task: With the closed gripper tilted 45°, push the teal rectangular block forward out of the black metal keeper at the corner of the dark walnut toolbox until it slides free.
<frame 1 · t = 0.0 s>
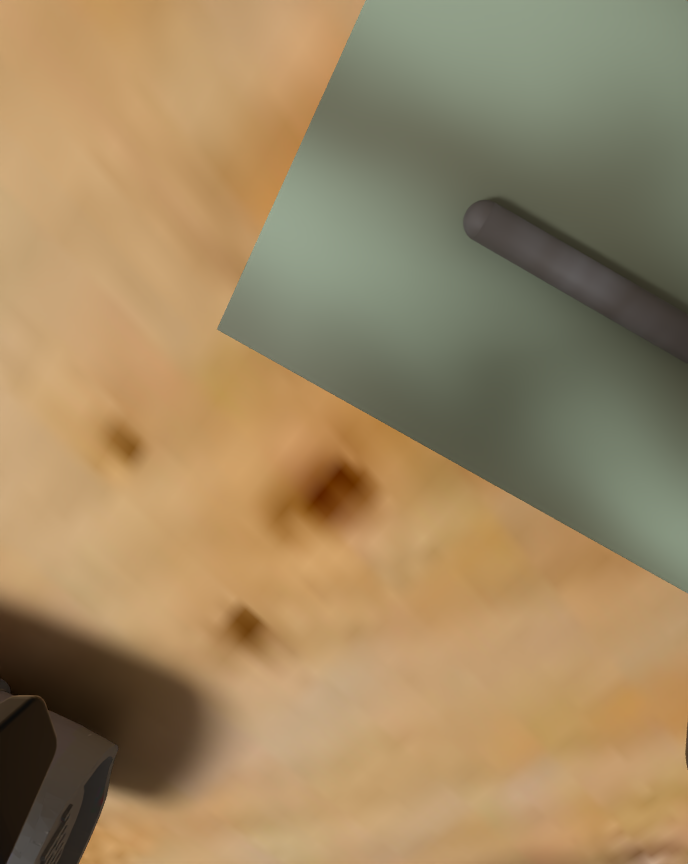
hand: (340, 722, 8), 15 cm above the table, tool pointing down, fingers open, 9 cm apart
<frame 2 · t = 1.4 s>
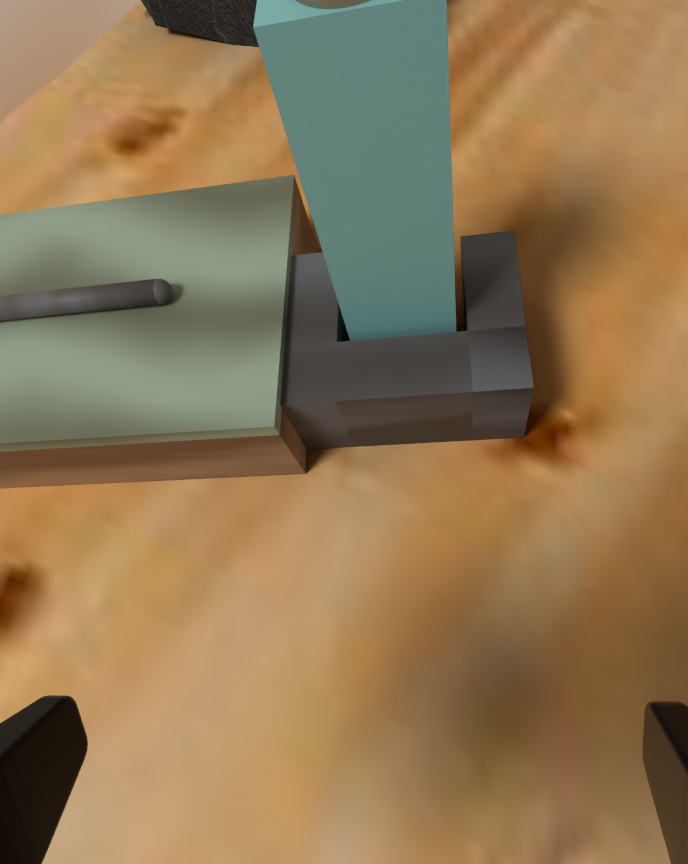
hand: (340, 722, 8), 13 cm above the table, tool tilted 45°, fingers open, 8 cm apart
toolbox: (409, 351, 26), on the table
teal rectangular block: (387, 214, 19), point 8 cm above the table, slide at 0.0 cm
hammer: (273, 26, 39), on the table
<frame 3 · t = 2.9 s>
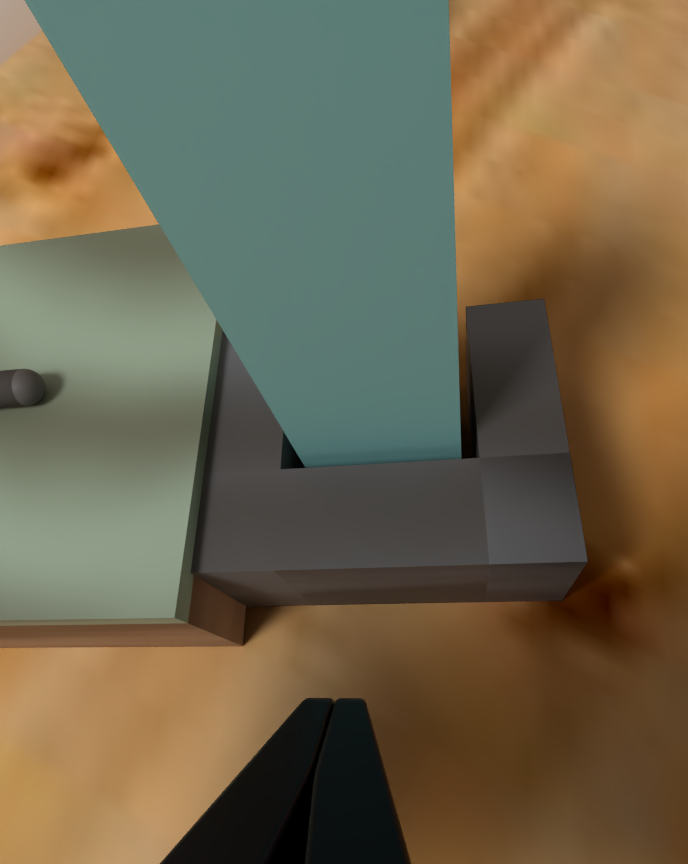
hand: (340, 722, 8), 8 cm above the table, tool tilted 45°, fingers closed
toolbox: (393, 459, 19), on the table
teal rectangular block: (348, 289, 12), point 8 cm above the table, slide at 0.0 cm
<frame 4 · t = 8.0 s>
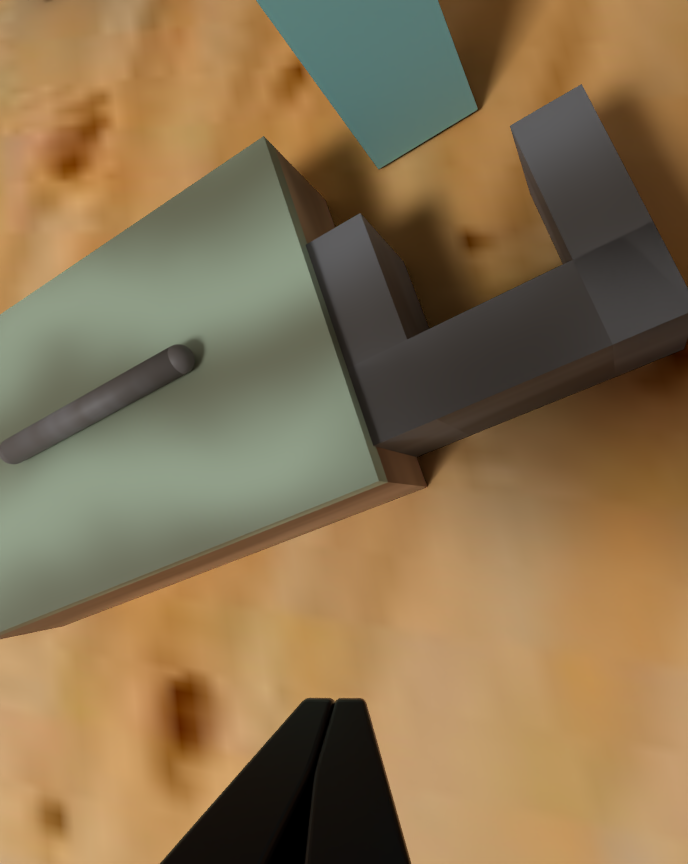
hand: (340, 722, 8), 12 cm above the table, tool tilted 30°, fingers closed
toolbox: (490, 290, 21), on the table
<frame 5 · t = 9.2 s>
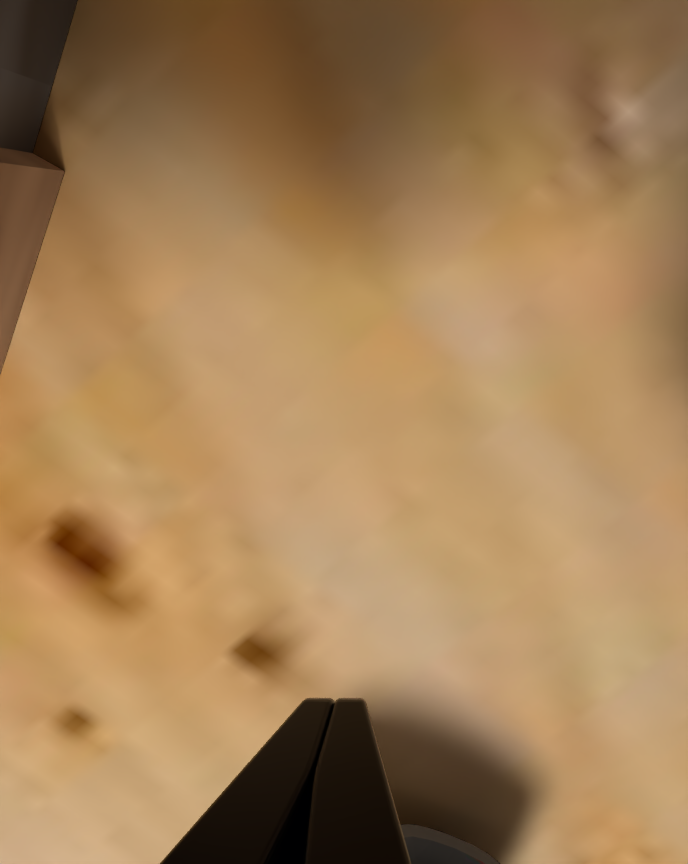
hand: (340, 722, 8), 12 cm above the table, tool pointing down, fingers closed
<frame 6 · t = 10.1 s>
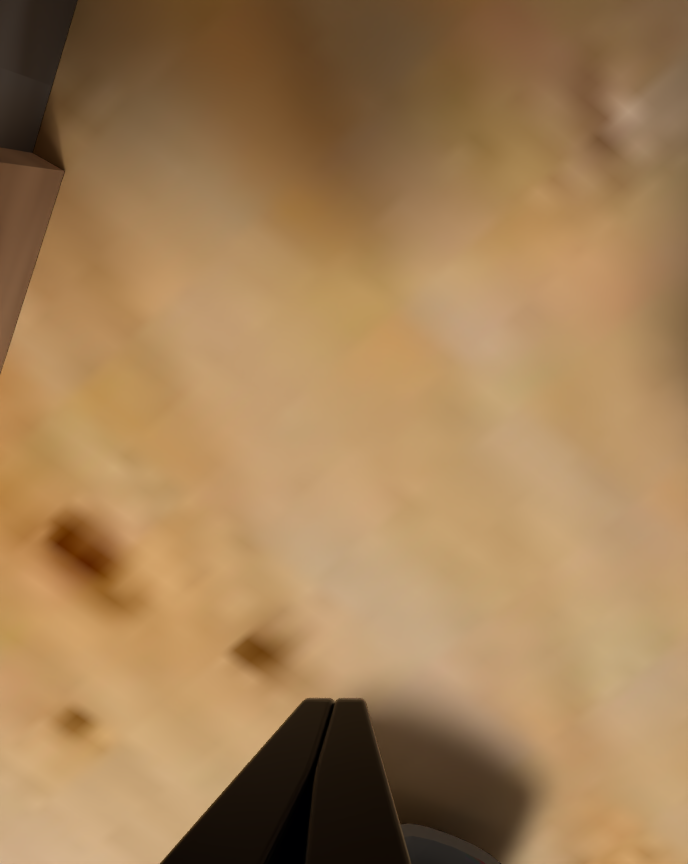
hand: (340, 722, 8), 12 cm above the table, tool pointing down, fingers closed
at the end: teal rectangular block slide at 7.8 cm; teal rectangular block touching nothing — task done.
